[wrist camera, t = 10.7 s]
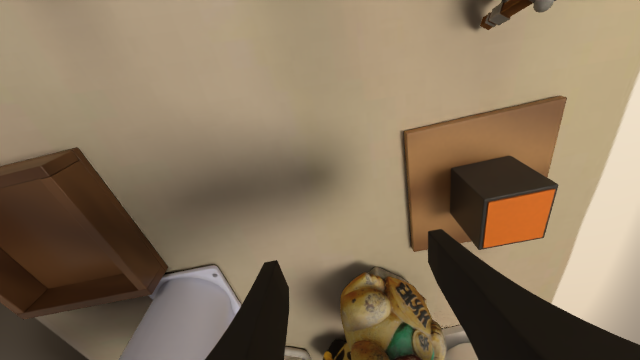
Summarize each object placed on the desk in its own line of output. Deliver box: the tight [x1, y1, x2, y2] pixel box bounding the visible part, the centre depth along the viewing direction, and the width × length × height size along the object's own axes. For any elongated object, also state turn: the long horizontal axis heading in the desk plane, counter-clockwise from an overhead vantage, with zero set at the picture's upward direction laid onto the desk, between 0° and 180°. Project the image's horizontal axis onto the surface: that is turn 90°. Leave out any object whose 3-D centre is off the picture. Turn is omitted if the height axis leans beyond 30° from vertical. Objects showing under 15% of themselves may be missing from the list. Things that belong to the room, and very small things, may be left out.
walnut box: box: [0, 148, 168, 319], centre depth 21 cm, size 13×13×3 cm
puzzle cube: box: [450, 156, 558, 250], centre depth 19 cm, size 4×4×4 cm
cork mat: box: [404, 96, 567, 252], centre depth 21 cm, size 12×11×1 cm
